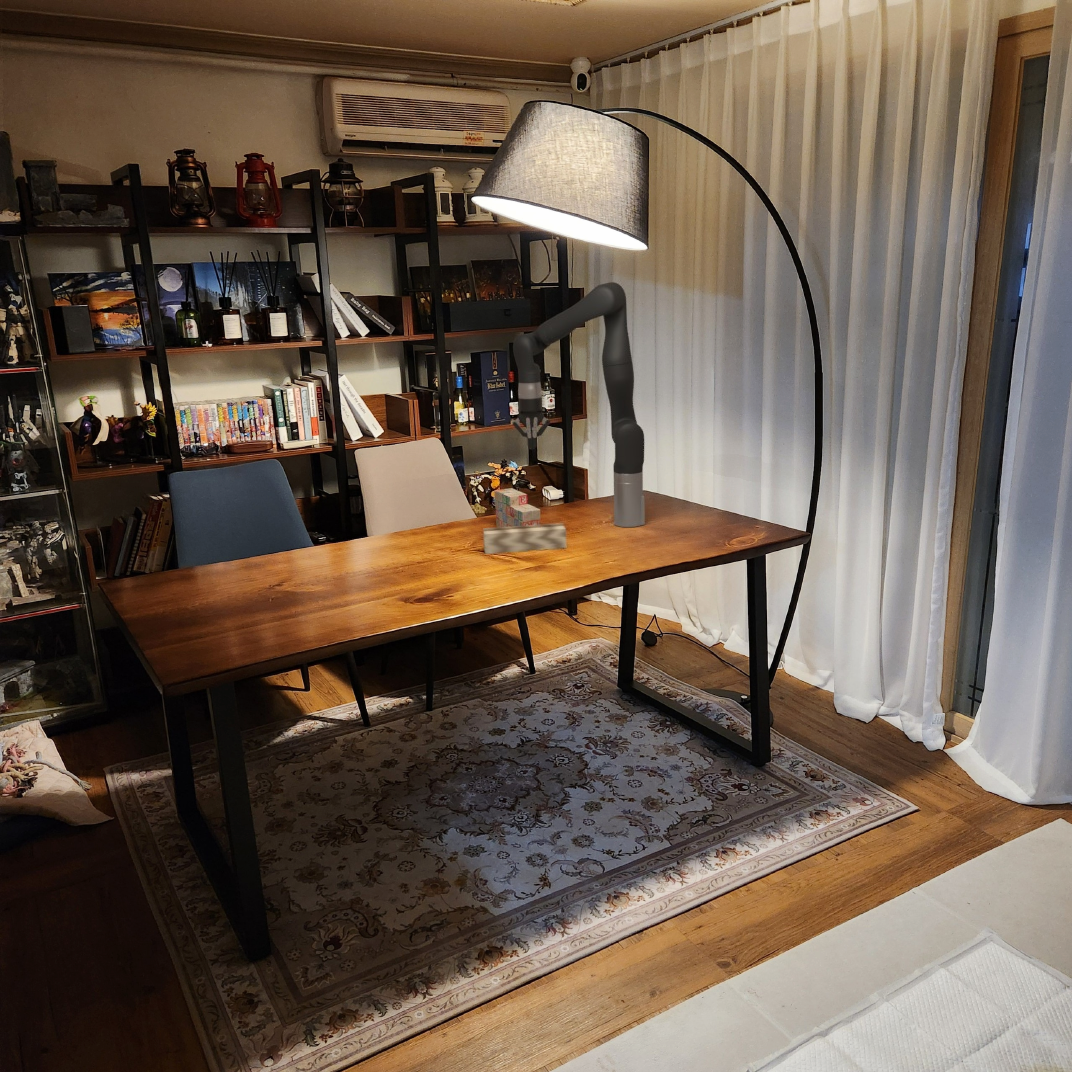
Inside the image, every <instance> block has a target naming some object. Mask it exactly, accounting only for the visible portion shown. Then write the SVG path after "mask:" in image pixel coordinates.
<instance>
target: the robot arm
mask: <svg viewBox="0 0 1072 1072" xmlns="http://www.w3.org/2000/svg"><path fill="white" fill-rule="evenodd" d="M627 310H628V309H627V294H626V292H625V289H624V288H623V287H622V286H621V284H619V283H617V282H614V281H613V282H606V283H602V284H599V285H597V286H595V287H594V288H593V289H591V291H590V292H588V293H587V294H586V295H585V296H583V297H582V298H581V299H580V300H579V301H578V302H577V303H575V304H573V305H572V306H571V307H569V308H567V309H565V310H564V311H562V312H560V313H558V314H556V315H555V316H553V317H551V318H549V319H548V320H546V321H544V322H542V323H541V324H540V325H539V326H538V328H537V329H536V330H534V331H531V332H529V333H522V334H518V335H517V336H516V337H515V338H514V341H513V345H512V350H513V356H514V360H515V363H516V367H517V370H518V373H517V374H518V390H517V392H518V393H517V394H518V410H519V411H518V412H519V413H518V415H517V418H516V419H515V420H514V421H513V420H512V422H511V424H512V425H513V426H514V428H515V429H516V430H517V431H518V433H519V434H520V435H521V436H522V437H523V438H526V439H527V440H526V441H527V443H526V444H527V448H529V450H536V448H537V446H538V444H537V442H538V441H537V438H538V437H541V436H542V435H543V434H544V432H545V431H546V430H547V428H548V426H549V425H550V424H551V420H549V419H548V418H546V417H545V415H544V413H543V401H542V400H543V397H542V396H543V393H542V385H541V369H540V368H541V367H540V366H539V364H537V363H535V361H534V356H536V355H538V354H540V353H542V352H543V351H544V350H546V349H547V348H549V347H550V346H551V345H552V344H555V343H556V342H559V341H560V340H562V339H563V338H565V337H567V336H568V335H570V334H571V333H572V332H573V331H575V330H576V329H577V328H578V327H580V326H582V325H583V324H585V323H586V322H589V321H591V320H593V319H597V318H600V317H603V323H604V333H605V334H604V340H603V341H604V342H603V348H602V352H601V353H602V355H601V364H602V371H603V377H604V378H603V379H604V383H605V389H606V394H607V398H608V403H609V407H610V408H609V409H610V424H611V425H610V426H611V431H610V432H611V439H612V441H613V443H614V463H613V520H614V522H613V525H615V526H616V527H622V528H636V527H639V526H645V525H646V524H645V521H646V518H645V517H646V513H645V512H646V509H645V508H646V506H645V505H646V504H645V503H646V500H645V498H646V497H645V495H644V491H643V490H644V489H643V488H644V487H643V486H644V485H643V484H644V481H643V479H644V478H643V477H644V476H643V475H644V474H643V473H644V472H643V471H644V469H643V468H644V467H643V466H644V461H645V434H644V429H643V428H642V427H641V426H640V425H639V424H638V422H637V418H636V413H635V408H634V390H635V389H634V388H635V387H634V386H635V372H634V366H633V364H634V363H633V357H632V352H631V343H630V337H629V332H628V331H629V330H628V315H627V314H628V313H627ZM521 424H522V426H523V427H524V428H525V431H524V430H523V429H522V428H521ZM540 424H542V425H541V426H540V428H539V429H538V426H539V425H540Z"/></svg>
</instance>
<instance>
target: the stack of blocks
mask: <svg viewBox="0 0 1072 1072" xmlns="http://www.w3.org/2000/svg"><path fill="white" fill-rule="evenodd" d="M494 506H495V522H496V527H497V526H498V527H511V526H526V525H540V524H541V509H540V508H537V507H536V506H533V505H531V504H529V503H528V494H527V493H524V492H522V491H520V490H517V489H515V488H512V487H510V488H502V489H497V490H496V489H495V490H494Z"/></svg>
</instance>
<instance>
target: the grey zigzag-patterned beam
mask: <svg viewBox="0 0 1072 1072" xmlns="http://www.w3.org/2000/svg"><path fill="white" fill-rule="evenodd" d="M482 533H483V536H482V538H483V551H484V554H485V555H491V554H493V555H494V554H506V553H507V552H509V553H518V552H519V551H523V552H530V551H529V550H536V551H542V550H541V549H550V550H562V549H563V548H564V549H567V528H566V527H565V523H564V522H557V523H545V524H541V523H540V525H526V526H511V527H497V526H496V527H486V528H484V527H483V528H482ZM507 554H508V553H507Z"/></svg>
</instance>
